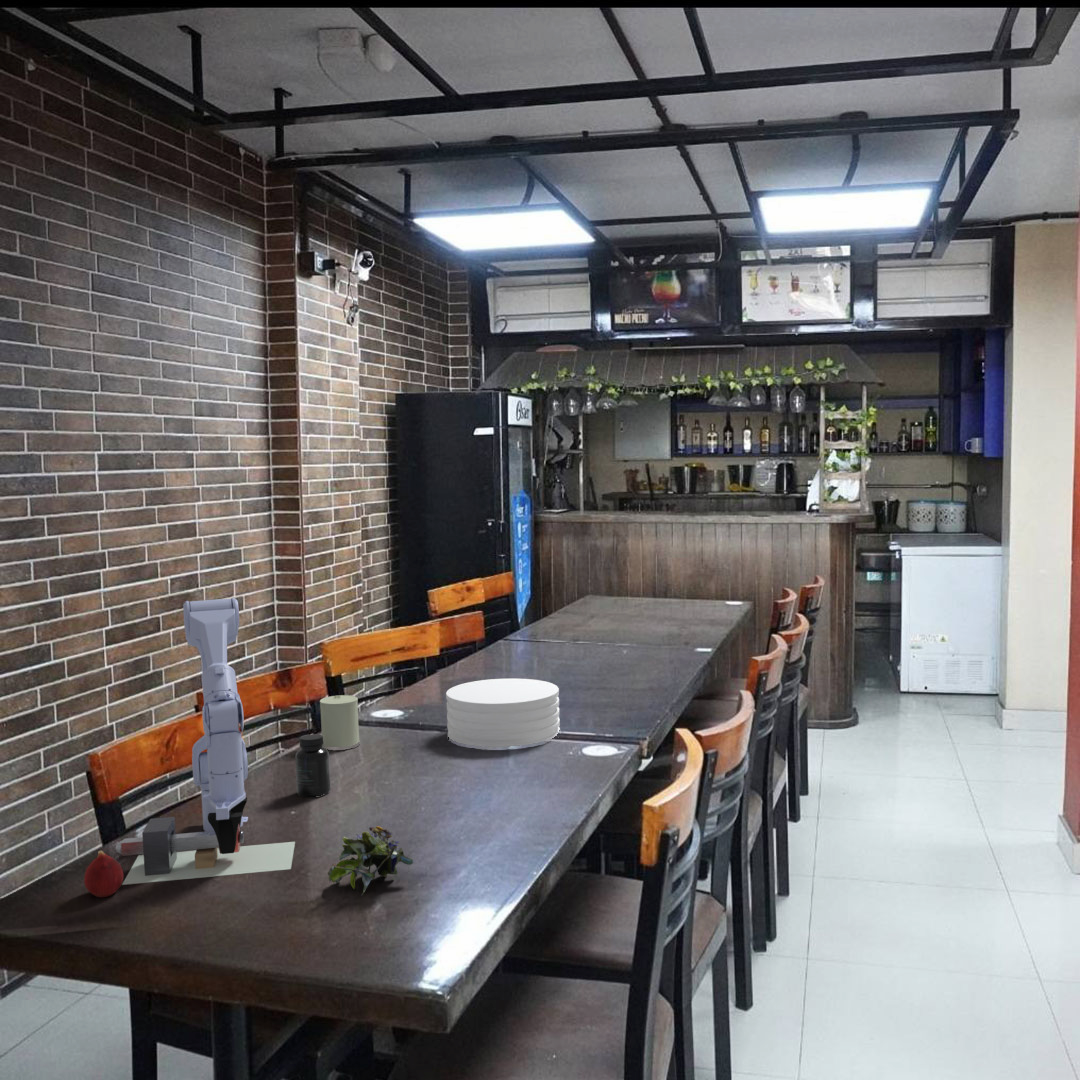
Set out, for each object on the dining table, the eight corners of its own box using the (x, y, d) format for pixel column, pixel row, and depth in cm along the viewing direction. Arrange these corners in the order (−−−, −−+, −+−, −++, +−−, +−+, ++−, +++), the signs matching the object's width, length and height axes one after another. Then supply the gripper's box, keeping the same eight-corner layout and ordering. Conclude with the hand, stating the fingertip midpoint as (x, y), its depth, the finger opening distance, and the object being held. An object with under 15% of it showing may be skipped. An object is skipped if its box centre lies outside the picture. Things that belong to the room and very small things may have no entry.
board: (138, 861, 185) (138, 855, 185) (295, 847, 190) (295, 841, 190) (122, 890, 173) (122, 884, 173) (291, 874, 177) (290, 868, 177)
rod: (120, 856, 181) (118, 828, 181) (245, 845, 184) (244, 817, 184) (113, 867, 176) (111, 838, 176) (242, 856, 180) (240, 827, 179)
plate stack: (582, 737, 259) (581, 691, 258) (485, 758, 243) (483, 709, 242) (520, 715, 282) (518, 673, 281) (427, 733, 266) (426, 689, 266)
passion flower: (383, 908, 175) (424, 849, 176) (363, 925, 165) (406, 862, 165) (331, 867, 178) (371, 808, 178) (307, 881, 167) (350, 818, 167)
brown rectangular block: (199, 858, 183) (199, 844, 183) (217, 856, 184) (216, 842, 184) (195, 868, 178) (194, 854, 178) (213, 867, 179) (213, 853, 179)
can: (356, 739, 263) (354, 691, 262) (362, 748, 254) (360, 699, 253) (319, 743, 260) (317, 695, 259) (324, 752, 251) (321, 703, 250)
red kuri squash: (129, 891, 172) (126, 843, 172) (117, 906, 167) (113, 857, 166) (93, 892, 172) (90, 845, 172) (79, 907, 166) (76, 858, 166)
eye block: (152, 860, 183) (150, 818, 182) (176, 858, 184) (174, 816, 183) (144, 875, 176) (142, 832, 175) (169, 873, 177) (167, 830, 176)
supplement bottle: (314, 786, 226) (312, 731, 225) (337, 791, 222) (334, 735, 221) (290, 795, 220) (287, 738, 219) (312, 800, 216) (310, 743, 215)
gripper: (207, 759, 187) (211, 834, 188) (195, 784, 173) (199, 864, 174) (248, 756, 188) (252, 830, 189) (239, 780, 174) (243, 860, 175)
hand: (230, 846), depth 182 cm, fingers closed on rod, 5 cm apart
